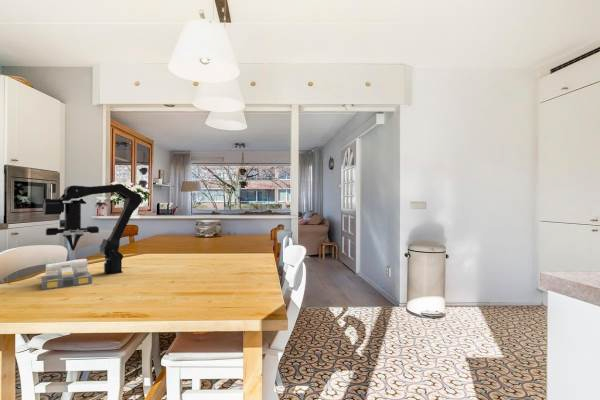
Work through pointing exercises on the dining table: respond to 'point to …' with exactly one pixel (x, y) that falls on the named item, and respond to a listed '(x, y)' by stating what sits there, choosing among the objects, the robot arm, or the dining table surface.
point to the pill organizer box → (65, 280)
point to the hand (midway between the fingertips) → (72, 250)
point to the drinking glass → (73, 264)
